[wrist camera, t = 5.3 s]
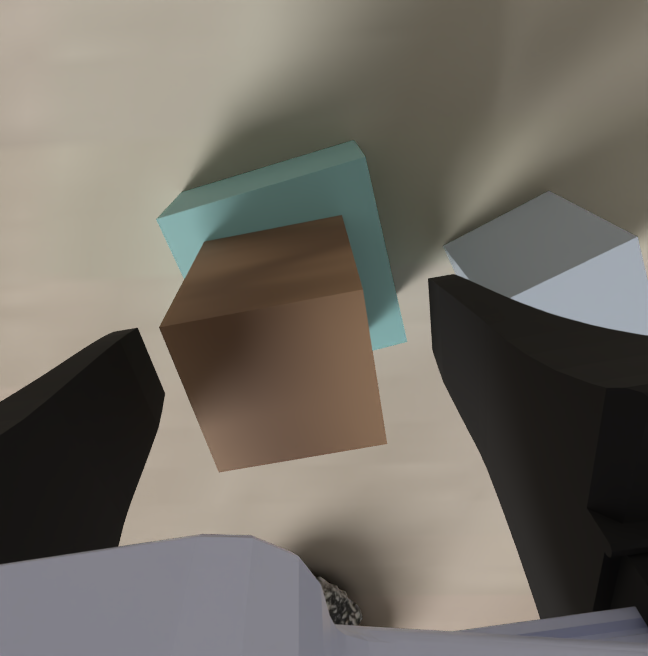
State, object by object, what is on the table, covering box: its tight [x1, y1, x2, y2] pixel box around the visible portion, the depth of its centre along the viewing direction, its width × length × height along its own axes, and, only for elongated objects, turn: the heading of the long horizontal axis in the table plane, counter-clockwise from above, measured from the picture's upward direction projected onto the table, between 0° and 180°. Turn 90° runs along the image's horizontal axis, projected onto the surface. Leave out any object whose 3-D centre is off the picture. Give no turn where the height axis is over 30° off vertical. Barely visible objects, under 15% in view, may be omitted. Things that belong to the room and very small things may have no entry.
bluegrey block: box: [443, 191, 648, 336], centre depth 16 cm, size 4×4×5 cm
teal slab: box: [156, 140, 407, 351], centre depth 16 cm, size 6×6×4 cm
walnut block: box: [159, 215, 387, 472], centre depth 12 cm, size 4×4×5 cm
